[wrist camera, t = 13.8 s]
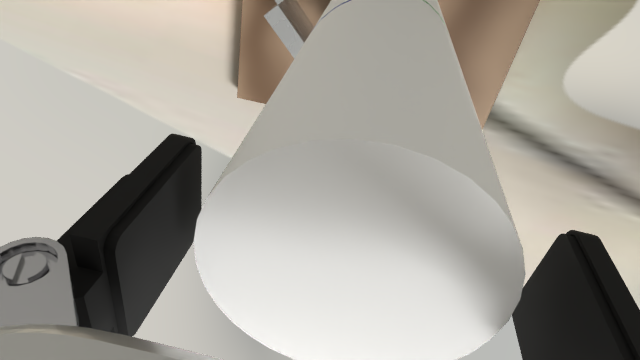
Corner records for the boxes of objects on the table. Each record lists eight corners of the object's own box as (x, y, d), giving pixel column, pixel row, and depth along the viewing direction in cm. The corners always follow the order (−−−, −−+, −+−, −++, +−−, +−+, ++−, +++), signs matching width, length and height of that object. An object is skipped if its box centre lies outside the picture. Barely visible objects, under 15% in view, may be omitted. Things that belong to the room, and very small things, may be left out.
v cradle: (583, -114, 25) (620, -115, 21) (471, 143, 35) (480, 177, 31) (257, -180, 26) (229, -193, 21) (241, 91, 36) (220, 118, 32)
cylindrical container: (314, -4, 30) (129, 227, 9) (405, -69, 27) (422, 61, 6) (366, 79, 33) (311, 395, 12) (454, 28, 29) (575, 336, 9)
